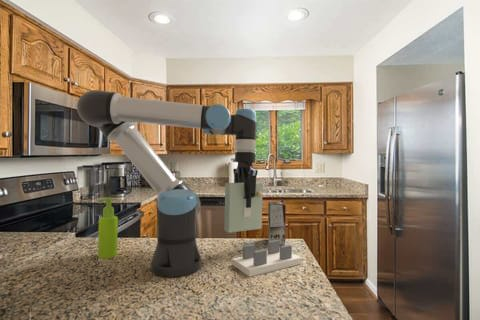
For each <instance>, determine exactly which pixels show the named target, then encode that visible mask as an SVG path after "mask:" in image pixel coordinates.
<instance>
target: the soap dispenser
mask: <svg viewBox="0 0 480 320" xmlns="http://www.w3.org/2000/svg"><path fill="white" fill-rule="evenodd" d="M114 200H115V198H114V197H103V198H100V199H97V200H96V202H99V203H102V202H105V206H104V207H102V208H103V209H102V217H99V218H98V242H97V243H98V245H97V247H98V249H97V251H98V256H97V257H98V258H99V259H102V260H103V259H104V260H107V259H113V258H114V257H117V256H118V231H119V229H118V227H119V226H118V225H119V218H118V216H116V215H115V207H113V206H112V201H114Z"/></svg>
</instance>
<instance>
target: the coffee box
mask: <svg viewBox="0 0 480 320" xmlns="http://www.w3.org/2000/svg"><path fill="white" fill-rule="evenodd" d="M267 203H268V204H267V205H268V207H267V210H268V211H267V239H269V240H268V241H273V240H279V246H285V245H286V216H287V215H286V210H287V209H286V203H284V202H283V201H267Z"/></svg>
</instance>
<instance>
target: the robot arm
mask: <svg viewBox="0 0 480 320" xmlns="http://www.w3.org/2000/svg"><path fill="white" fill-rule="evenodd" d="M76 110H77V113H78V116H79V117H80V119H81V120H82V121H83V122H85V123H86V124H87V125H89V126H92V127H95V128H98V130H100V132H101V133H102V134H103V136H104V137H105V138H106V140H107V141H109V142H114V143H116V144H117V146H118V147H119V148H120V150H121V151H122V152H123V154H124V155H126V157H127V158H128V159H129V160H130V162H131V163H132V165H133V166H134V167H135V168H136V169H137V170H138V172H139V173H140V174H141V177H143V178H144V179H145V181H146V182H147V183H148V184H149V186H150V187H151V188H152V189H153V190H154V191H155V193H156V195H157V196H156V201H157V203H156V204H157V205H156V207H157V226H156V227H157V229H156V231H157V233H156V235H157V237H156V239H157V241H156V242H157V243H156V245H155V249H154V251H153V255H152V258H151V261H150V271H151V273H152V274H154V275H156V276H160V277H165V278H175V277H176V278H177V277H183V276H188V275H191V274H194V273H196V272H198V271H199V270H200V269H201V267H202V257H201V253H200V250H199V247H198V244H197V240H196V239H197V237H196V236H197V217H198V215H199V213H200V211H201V200H200V197H199V195H198V194H197V193H196V192H195V191H193V190H192V189H191V188H190V187H189V186H188V185H187V183H186V182H185V181H184V180H183V179H177V178H176V176H175V175H174V173H172V171H171V170H170V168H169V167H168V166H167V165H166V163H164V161H163V160H162V158H160V156H159V154H158V153H156V151H155V150H154V149H153V147H152V146H151V145H150V144H149V142H148V141H147V140H146V138H145V137H144V136H143V135H142V133H141V132H140V131H139V130H138V128H137V124H146V125H158V126H165V127H166V126H167V127H168V126H169V127H180V128H187V129H189V128H190V129H199V130H200V129H201V130H202V132H203V134H204V135H211V136H215V135H218V136H221V135H222V136H235V141H234V143H235V144H234V151H235V153H234V162H235V163H237V166H236V168H233V171H232V172H233V183H244V190H245V197H243V198H244V200H243V217H249V216H251V198H253V197H255V192H256V182H257V175H258V172H259V171H258V169H254V165H253V163H256V152H255V151H256V141H257V140H256V139H257V137H256V136H257V112H256V111H255V110H254V109H252V108H238V109H237V110H236V111H235V114H231V112H230V110H229V108H228V107H227V106H225V105H224V104H219V103H218V104H217V103H216V104H213V105H205V104H204V105H203V104H197V103H196V104H195V103H194V104H193V103H185V102H178V101H177V102H176V101H175V102H174V101H167V100H157V99H149V98H139V97H129V96H122V94H121V93H119V92H113V91H107V90H98V89H93V90H89V91H86V92H84V93H83V94H82V95H81V96H79V99H78V100H77V103H76Z"/></svg>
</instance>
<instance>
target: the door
mask: <svg viewBox="0 0 480 320" xmlns="http://www.w3.org/2000/svg"><path fill="white" fill-rule="evenodd" d="M224 184H225V186H224V187H225V188H224V189H225V191H224V192H225V193H224V223H223V224H224V227H223V230H224V231H225V232H227V233H230V234H231V233H236V232H237V233H238V232H244V231H245V232H246V231H251V230H252V231H253V230H260V229H263V198H264V197H263V192H264V191H263V188H264V186H263V185H264V183H263V182H257V181H256V192H255V197H253V198H251V216H249V217H243V200H244V198H243V197H245V190H244V183H234V182H225V183H224Z"/></svg>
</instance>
